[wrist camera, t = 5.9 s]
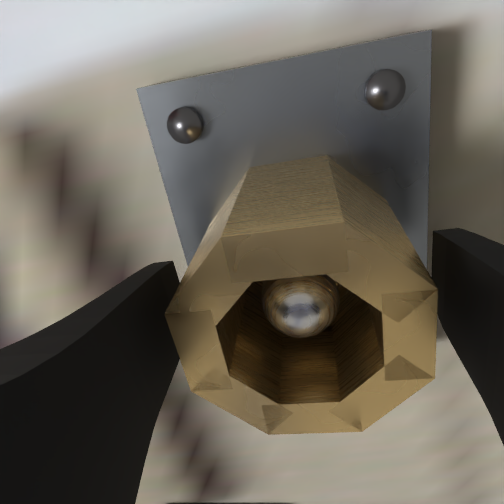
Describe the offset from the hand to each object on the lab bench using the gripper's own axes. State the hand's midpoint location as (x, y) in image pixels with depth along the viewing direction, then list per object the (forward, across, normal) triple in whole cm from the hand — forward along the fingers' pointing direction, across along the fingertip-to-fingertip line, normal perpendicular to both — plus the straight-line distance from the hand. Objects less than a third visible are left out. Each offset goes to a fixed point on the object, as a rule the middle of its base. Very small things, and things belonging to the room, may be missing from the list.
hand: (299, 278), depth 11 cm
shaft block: (+3, 0, 0) cm, 3 cm away
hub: (+2, 0, 0) cm, 2 cm away
